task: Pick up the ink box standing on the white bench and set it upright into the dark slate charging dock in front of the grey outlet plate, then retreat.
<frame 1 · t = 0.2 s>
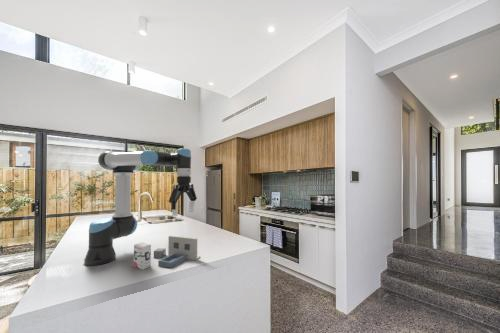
hand: (183, 213, 123), 27 cm above the countertop, fingers open, 13 cm apart
outlet plate: (182, 257, 131), on the countertop
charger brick: (159, 256, 134), on the countertop
ink box: (142, 266, 118), on the countertop
dock: (172, 262, 123), on the countertop
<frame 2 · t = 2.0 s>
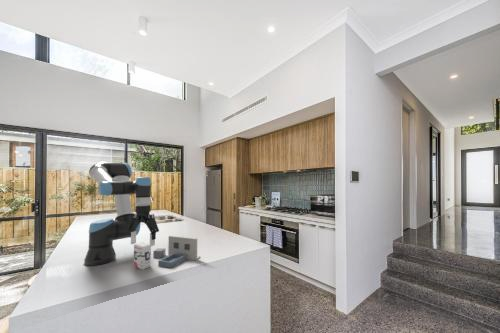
hand: (142, 244, 119), 12 cm above the countertop, fingers open, 13 cm apart
nothing on the countertop moved.
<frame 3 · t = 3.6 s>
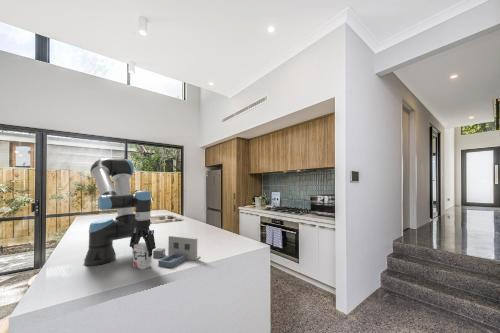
hand: (142, 261, 118), 3 cm above the countertop, fingers closed on ink box, 9 cm apart
ink box: (141, 266, 118), on the countertop, touching gripper
everything else where it was.
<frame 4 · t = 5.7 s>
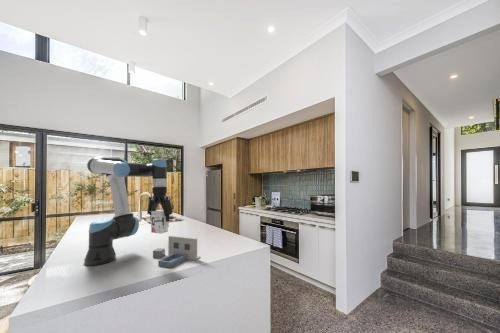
hand: (159, 227, 121), 20 cm above the countertop, fingers closed on ink box, 9 cm apart
ink box: (159, 232, 121), point 18 cm above the countertop, touching gripper
everything else where it was.
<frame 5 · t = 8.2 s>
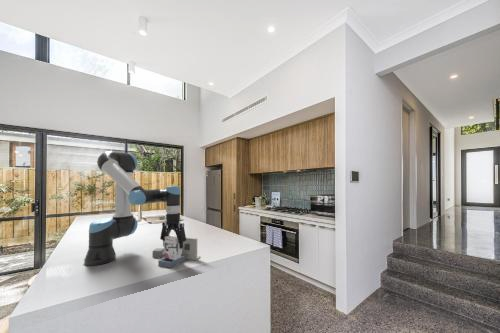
hand: (172, 253, 123), 5 cm above the countertop, fingers closed on ink box, 9 cm apart
ink box: (172, 258, 123), point 3 cm above the countertop, touching dock, gripper
everything else where it was.
when the fingers open (5 cm above the countertop, at t = 8.4 s): ink box stays where it is, resting on dock.
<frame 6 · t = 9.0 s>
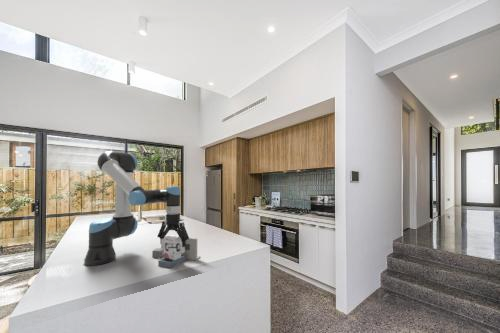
hand: (172, 251, 123), 6 cm above the countertop, fingers open, 13 cm apart
ink box: (172, 258, 123), point 3 cm above the countertop, touching dock
everything else where it was.
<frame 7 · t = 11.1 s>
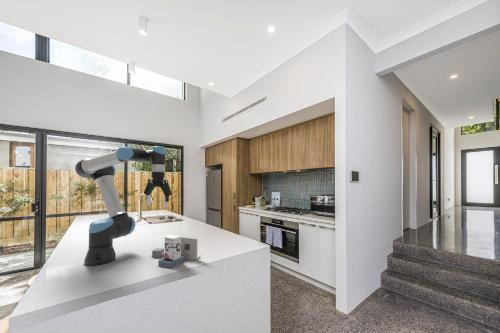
hand: (157, 206, 133), 30 cm above the countertop, fingers open, 13 cm apart
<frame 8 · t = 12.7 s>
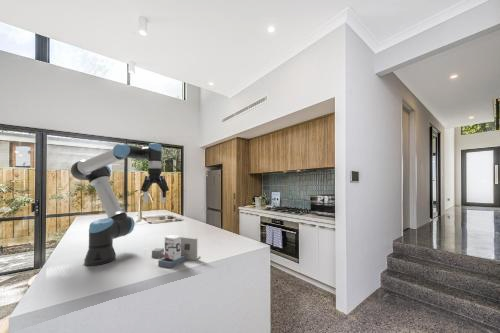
hand: (154, 202, 135), 33 cm above the countertop, fingers open, 13 cm apart
at the end: ink box 0.1 cm from the dock (horizontally); ink box tilted 0°; the gripper is holding nothing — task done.
